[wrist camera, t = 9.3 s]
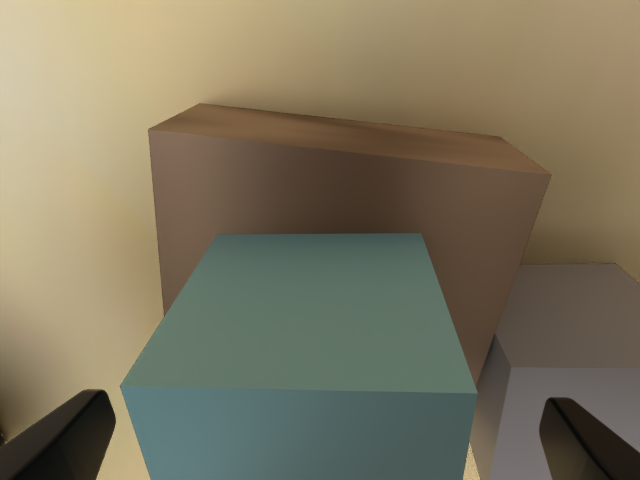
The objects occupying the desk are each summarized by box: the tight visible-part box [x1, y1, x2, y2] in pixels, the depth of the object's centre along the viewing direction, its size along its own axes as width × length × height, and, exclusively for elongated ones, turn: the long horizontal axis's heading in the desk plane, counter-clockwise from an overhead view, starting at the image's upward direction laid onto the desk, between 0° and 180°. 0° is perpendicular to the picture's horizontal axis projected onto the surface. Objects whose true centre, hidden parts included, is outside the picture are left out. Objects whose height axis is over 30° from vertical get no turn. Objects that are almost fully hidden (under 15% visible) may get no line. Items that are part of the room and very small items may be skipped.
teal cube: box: [120, 233, 478, 480], centre depth 9 cm, size 5×5×5 cm
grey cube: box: [469, 263, 640, 480], centre depth 13 cm, size 5×5×5 cm
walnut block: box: [148, 104, 551, 387], centre depth 13 cm, size 9×9×4 cm
